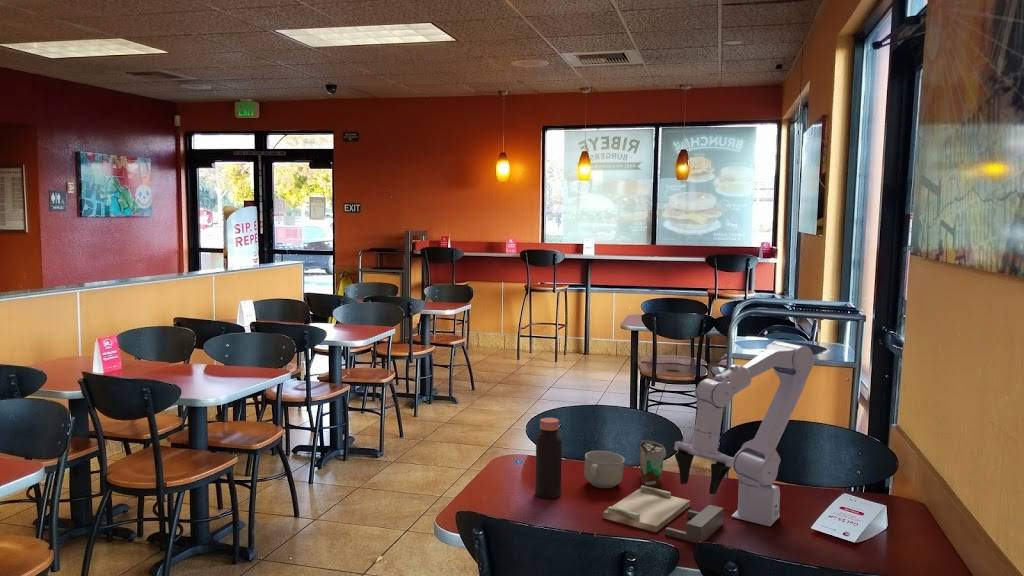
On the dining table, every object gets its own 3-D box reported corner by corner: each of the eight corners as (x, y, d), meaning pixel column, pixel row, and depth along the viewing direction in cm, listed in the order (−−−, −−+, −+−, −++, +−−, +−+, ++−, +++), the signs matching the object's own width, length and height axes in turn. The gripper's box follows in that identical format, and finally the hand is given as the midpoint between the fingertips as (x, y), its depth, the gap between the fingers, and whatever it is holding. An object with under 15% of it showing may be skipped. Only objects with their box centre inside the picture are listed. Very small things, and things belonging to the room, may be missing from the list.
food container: (669, 489, 206) (670, 453, 205) (646, 489, 206) (647, 453, 205) (661, 474, 218) (662, 439, 217) (639, 473, 218) (640, 439, 217)
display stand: (689, 506, 194) (690, 495, 194) (656, 532, 178) (656, 521, 178) (639, 493, 202) (639, 484, 202) (602, 517, 186) (603, 507, 186)
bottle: (565, 497, 199) (566, 422, 197) (541, 500, 197) (542, 424, 195) (554, 488, 205) (555, 415, 203) (531, 491, 203) (532, 417, 201)
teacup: (598, 475, 217) (598, 447, 216) (631, 484, 210) (632, 455, 209) (569, 488, 206) (570, 459, 205) (603, 498, 199) (604, 468, 198)
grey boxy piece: (722, 524, 183) (723, 508, 183) (700, 544, 172) (701, 527, 171) (689, 515, 188) (689, 500, 188) (665, 534, 177) (665, 518, 176)
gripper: (671, 424, 181) (662, 480, 181) (727, 440, 171) (717, 500, 171) (686, 422, 186) (677, 477, 186) (741, 438, 176) (732, 496, 176)
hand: (698, 488), depth 179 cm, fingers open, 7 cm apart
